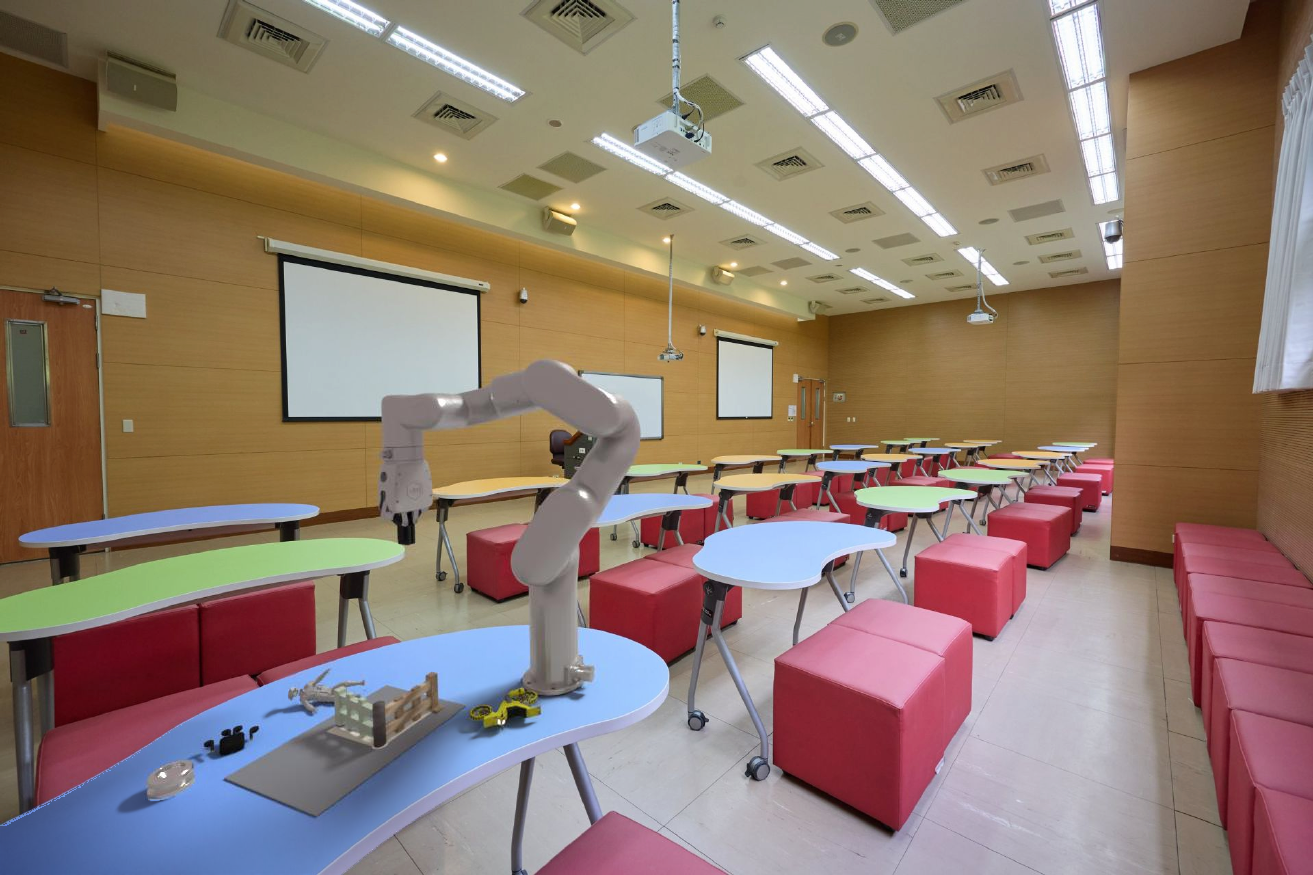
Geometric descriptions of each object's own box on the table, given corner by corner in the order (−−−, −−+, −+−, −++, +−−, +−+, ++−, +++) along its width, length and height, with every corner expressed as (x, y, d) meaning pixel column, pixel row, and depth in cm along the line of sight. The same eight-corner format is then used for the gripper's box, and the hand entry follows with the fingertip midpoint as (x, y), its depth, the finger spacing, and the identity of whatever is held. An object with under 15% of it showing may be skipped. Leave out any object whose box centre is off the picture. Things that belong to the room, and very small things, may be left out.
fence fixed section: (384, 751, 83) (382, 709, 82) (366, 746, 84) (364, 704, 84) (444, 709, 94) (443, 671, 94) (427, 705, 96) (426, 668, 95)
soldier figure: (356, 713, 95) (280, 708, 90) (352, 721, 98) (279, 716, 93) (369, 670, 101) (298, 662, 96) (365, 678, 103) (296, 672, 99)
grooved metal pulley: (151, 786, 75) (143, 807, 71) (149, 767, 75) (142, 786, 71) (196, 772, 78) (192, 791, 74) (195, 753, 78) (191, 771, 74)
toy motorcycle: (533, 680, 97) (547, 697, 91) (533, 699, 97) (547, 719, 91) (466, 700, 91) (477, 720, 85) (467, 721, 91) (477, 743, 85)
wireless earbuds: (202, 757, 80) (203, 732, 84) (203, 769, 81) (204, 744, 84) (259, 739, 85) (258, 716, 88) (260, 750, 85) (258, 727, 89)
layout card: (466, 706, 95) (466, 704, 95) (316, 817, 69) (316, 814, 69) (386, 686, 103) (386, 684, 103) (224, 778, 77) (224, 777, 77)
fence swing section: (379, 737, 85) (378, 701, 85) (371, 742, 84) (369, 706, 84) (343, 719, 91) (342, 685, 90) (335, 723, 89) (333, 689, 89)
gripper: (384, 458, 98) (387, 554, 99) (445, 452, 111) (448, 537, 112) (357, 457, 101) (360, 551, 102) (420, 452, 114) (422, 534, 115)
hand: (406, 543), depth 107 cm, fingers closed
